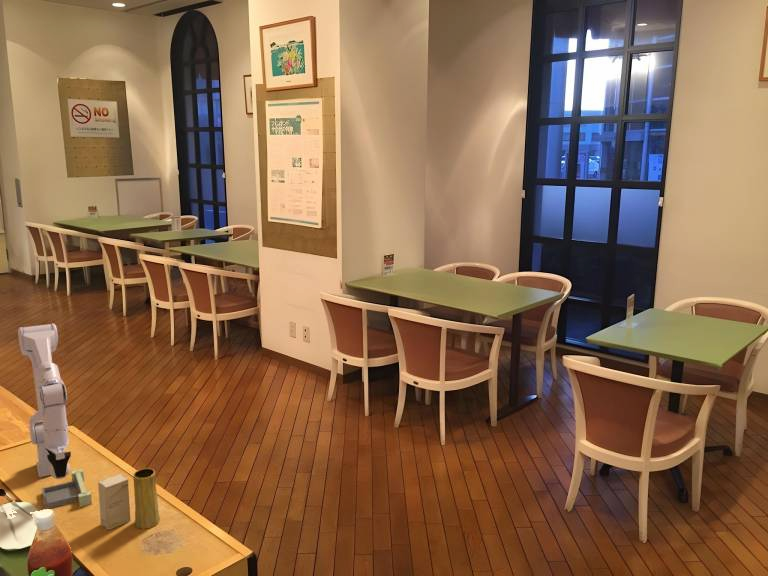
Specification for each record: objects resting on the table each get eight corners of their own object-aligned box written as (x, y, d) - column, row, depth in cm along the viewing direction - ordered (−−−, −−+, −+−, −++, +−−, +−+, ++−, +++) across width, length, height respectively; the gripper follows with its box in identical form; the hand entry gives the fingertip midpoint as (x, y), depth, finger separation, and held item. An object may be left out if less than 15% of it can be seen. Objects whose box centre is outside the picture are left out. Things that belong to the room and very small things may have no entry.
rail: (72, 480, 185) (71, 471, 184) (83, 478, 187) (82, 468, 186) (79, 506, 172) (79, 497, 172) (91, 503, 174) (91, 494, 173)
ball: (49, 476, 176) (48, 459, 175) (69, 471, 179) (68, 455, 178) (51, 484, 172) (50, 467, 171) (72, 479, 175) (70, 462, 174)
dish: (42, 493, 178) (41, 488, 178) (77, 485, 183) (77, 480, 183) (45, 509, 171) (45, 503, 170) (82, 500, 176) (81, 494, 175)
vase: (151, 530, 163) (148, 480, 160) (130, 527, 164) (126, 477, 161) (164, 517, 169) (161, 468, 166) (143, 514, 170) (140, 465, 167)
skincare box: (108, 531, 162) (104, 488, 160) (100, 523, 165) (96, 481, 162) (131, 520, 167) (128, 479, 164) (123, 514, 170) (120, 472, 167)
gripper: (36, 419, 176) (40, 464, 179) (41, 440, 164) (46, 488, 167) (64, 414, 180) (68, 458, 183) (71, 434, 168) (75, 481, 171)
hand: (59, 472), depth 175 cm, fingers closed on ball, 5 cm apart
